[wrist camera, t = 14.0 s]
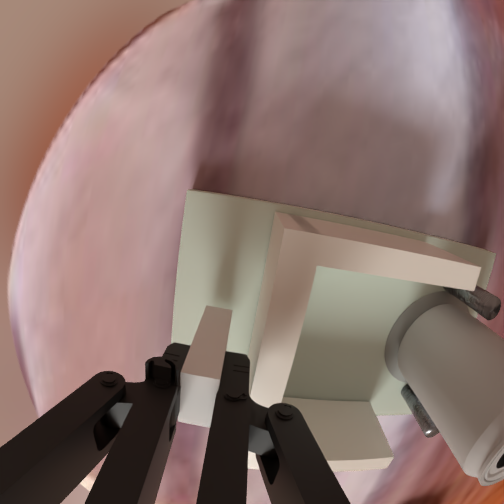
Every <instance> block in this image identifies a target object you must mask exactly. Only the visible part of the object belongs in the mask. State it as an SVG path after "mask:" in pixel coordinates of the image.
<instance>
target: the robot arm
mask: <svg viewBox="0 0 504 504" xmlns="http://www.w3.org/2000/svg"><path fill="white" fill-rule="evenodd" d="M232 311H233V310H230V309H224V308H218V307H213V306H207V305H206V308H205V310H204V313H203V315H202V318H201V320H200V323H199V326H198V328H197V331H196V333H195V336H194V339H193V341H192V344H191V345H186V344H181V343H176V342H174V343H172V344H170V345H169V346H167V348H166V350H165V352H164V354H163V356H162V357H153V358H151V359H148V360H147V361H146V362H145V372H146V379H145V381H144V382H137V383H132V382H125V379H124V377H123V376H122V375H120V374H119V373H116V372H113V371H104V372H100V373H98V374H96V375H95V376H94V377H92V378H91V379H90V380H88V381H87V382H86V383H84V384H83V385H82V386H81V387H79V388H78V389H77V390H75V391H74V392H73V393H71V394H70V395H69V396H67V397H66V398H65V399H63V400H62V401H61V402H60V403H58V404H57V405H56V406H54V407H53V408H52V409H50V410H49V411H48V412H46V413H45V414H44V415H42V416H41V417H40V418H39V419H37V420H36V421H35V422H33V423H32V424H31V425H29V426H28V427H27V428H25V429H24V430H23V431H21V432H20V433H19V434H18V435H16V436H15V437H14V438H12V439H11V440H10V441H8V442H7V443H6V444H4V445H3V446H2V447H0V504H60V503H61V502H62V501H63V500H64V499H65V498H66V497H67V496H68V495H69V494H70V493H71V492H72V491H73V489H75V488H76V486H77V485H78V484H79V483H80V482H81V481H82V480H83V479H84V478H85V477H86V476H87V475H88V474H89V473H90V472H91V471H92V470H93V468H94V467H95V466H96V465H97V464H98V463H99V462H100V461H101V460H102V459H103V458H104V457H105V456H106V455H107V454H108V455H107V457H106V459H105V461H104V463H103V465H102V467H101V469H100V472H99V474H98V476H97V478H96V480H95V482H94V484H93V486H92V489H91V491H90V493H89V495H88V497H87V499H86V502H85V504H155V500H156V497H157V493H158V490H159V486H160V483H161V479H162V476H163V472H164V469H165V465H166V462H167V458H168V455H169V452H170V448H171V445H172V442H173V438H174V435H175V431H176V421H177V418H178V421H179V422H183V423H188V424H193V425H199V426H204V427H210V431H209V436H208V442H207V447H206V453H205V458H204V464H203V469H202V475H201V480H200V486H199V491H198V497H197V503H196V504H246V496H247V471H248V451H250V452H253V453H255V454H256V459H257V462H258V465H259V468H260V471H261V474H262V477H263V480H264V483H265V486H266V489H267V492H268V495H269V498H270V501H271V504H350V502H349V500H348V498H347V497H346V495H345V493H344V491H343V489H342V488H341V486H340V484H339V482H338V480H337V479H336V477H335V475H334V473H333V471H332V470H331V468H330V466H329V464H328V462H327V460H326V458H325V457H324V455H323V453H322V451H321V449H320V447H319V445H318V444H317V442H316V440H315V438H314V436H313V434H312V432H311V430H310V429H309V427H308V425H307V423H306V421H305V419H304V417H303V415H302V413H301V412H300V411H299V409H298V408H296V407H295V406H293V405H290V404H287V403H276V404H273V405H271V406H270V407H269V408H267V407H264V406H261V405H259V404H257V403H256V402H254V401H253V400H252V399H251V397H250V395H249V376H250V374H249V373H250V360H249V358H248V356H247V355H246V354H241V353H235V352H229V351H226V350H227V343H228V337H229V330H230V324H231V318H232ZM108 452H109V453H108Z"/></svg>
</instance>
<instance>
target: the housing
mask: <svg viewBox="0 0 504 504" xmlns="http://www.w3.org/2000/svg"><path fill="white" fill-rule="evenodd" d="M317 266H322V267H328V268H334V269H340V270H346V271H352V272H358V273H365V274H371V275H377V276H383V277H389V278H395V279H401V280H407V281H414V282H420V283H426V284H432V285H438V286H445V287H451V288H457V289H463V290H469V291H474V290H475V287H476V284H477V280H478V277H479V274H480V270H481V267H479V266H477V265H475V264H473V263H471V262H469V261H467V260H465V259H462V258H460V257H458V256H456V255H454V254H452V253H449V252H447V251H445V250H443V249H440V248H438V247H436V246H434V245H431V244H429V243H427V242H424V241H420V240H415V239H411V238H406V237H402V236H397V235H393V234H388V233H383V232H379V231H374V230H369V229H364V228H360V227H355V226H350V225H345V224H340V223H335V222H330V221H324V220H319V219H314V218H309V217H303V216H298V215H292V214H287V213H281V212H275V214H274V220H273V226H272V231H271V237H270V242H269V248H268V253H267V258H266V264H265V269H264V275H263V280H262V285H261V291H260V296H259V301H258V306H257V312H256V317H255V322H254V327H253V332H252V338H251V343H250V348H249V353H248V358H249V360H250V373H249V374H250V376H249V395H250V397H251V399H252V400H253V401H254V402H256V403H257V404H259V405H261V406H264V407H267V408H269V407H270V406H271V405H273V404H276V403H287V404H290V405H293V406H295V407H296V408H298V409H299V411H300V412H301V413H302V415H303V417H304V419H305V421H306V423H307V425H308V427H309V429H310V430H311V432H312V434H313V436H314V438H315V440H316V442H317V444H318V445H319V447H320V449H321V451H322V453H323V455H324V457H325V458H326V460H327V462H328V464H329V466H330V468H331V470H332V471H333V472H344V471H362V470H374V469H384V468H387V467H388V465H389V464H390V462H391V461H392V460H393V458H394V455H393V453H392V451H391V448H390V446H389V444H388V441H387V439H386V437H385V435H384V432H383V430H382V428H381V426H380V423H379V421H378V419H377V417H376V415H375V412H374V410H373V408H372V406H371V404H370V402H366V401H332V400H315V399H301V398H290V397H283V395H284V391H285V388H286V384H287V381H288V378H289V374H290V370H291V367H292V363H293V360H294V356H295V352H296V349H297V345H298V341H299V337H300V334H301V330H302V326H303V322H304V318H305V314H306V310H307V306H308V302H309V298H310V293H311V289H312V285H313V281H314V276H315V272H316V268H317ZM248 469H259V470H260V468H259V465H258V462H257V459H256V454H255V453H253V452H250V451H248Z"/></svg>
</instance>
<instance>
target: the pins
mask: <svg viewBox="0 0 504 504" xmlns="http://www.w3.org/2000/svg"><path fill="white" fill-rule="evenodd" d="M443 288H444V290H445V291H447V292H448V293H450V294H451V295H453V296H454V297H456V298H457V299H459V300H460V301H461V302H463V303H464V304H466V305H467V306H469V307H470V308H472V309H473V310H474V311H476V312H477V313H479V314H480V315H481V316H483V317H484V318H486V319H487V320H492V319H493V318H495V317H496V315H497V314H498V312H499V310H500V307H501V301H500V299H499V298H498V297H496V296H494V295H493V294H491V293H489V292H488V291H486V290H484V289H483V288H481V287H479V286H477V285H476V287H475V290H474V291H469V290H463V289H457V288H451V287H445V286H443ZM401 395H402V397H403V399H404V400H405V402H406V404H407V405H408V407H409V409H410V410H411V412H412V414H413V415H414V417H415V419H416V421H417V422H418V424H419V426H420V427H421V429H422V431H423V433H424V434H425V436H426V437H433V436H435V435H436V434H438V433H439V430H438V428H437V427H436V425H435V424H434V422H433V421H432V419H431V417H430V416H429V414H428V413H427V411H426V410H425V408H424V407H423V405H422V404H421V402H420V401H419V399H418V398H417V396H416V395H415V393H414V392H413V390H412V389H411V387H410V386H409V384H406V385H405V386H404V387H403V388H402V390H401Z"/></svg>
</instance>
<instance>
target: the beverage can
mask: <svg viewBox="0 0 504 504" xmlns="http://www.w3.org/2000/svg"><path fill="white" fill-rule="evenodd" d="M398 366H399V370H400V372H401V374H402V375H403V377H404V378H405V380H406V381H407V383H408V384H409V386H410V387H411V389H412V390H413V392H414V393H415V395H416V396H417V398H418V399H419V401H420V402H421V404H422V405H423V407H424V408H425V410H426V411H427V413H428V414H429V416H430V417H431V419H432V421H433V422H434V424H435V425H436V427H437V428H438V430H439V432H440V433H441V435H442V436H443V438H444V440H445V441H446V443H447V444H448V446H449V448H450V449H451V451H452V452H453V454H454V456H455V457H456V459H457V461H458V462H459V464H460V466H461V467H462V469H463V471H464V472H465V473H466V474H467V475H469V476H473V477H478V481H479V482H480V484H481V485H482V486H488V485H492V484H495V483H497V482H499V481H501V480H502V479H504V339H503V338H501V337H500V336H499V335H497V334H496V333H495V332H493V331H492V330H491V329H490V328H488V327H487V326H486V325H484V324H483V323H481V322H480V321H479V320H477V319H476V318H475V317H473V316H472V315H471V314H469V313H468V312H467V311H465V310H464V309H462V308H461V307H459V306H457V305H453V304H443V305H438V306H436V307H433V308H431V309H429V310H428V311H426V312H425V313H423V314H422V315H421V316H420V317H419V318H417V319H416V320H415V321H414V323H413V324H412V325H411V326H410V327H409V329H408V330H407V332H406V334H405V335H404V337H403V339H402V341H401V344H400V347H399V351H398Z"/></svg>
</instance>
